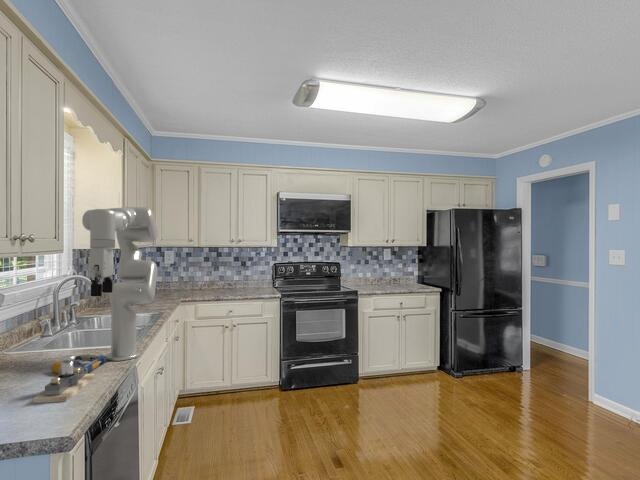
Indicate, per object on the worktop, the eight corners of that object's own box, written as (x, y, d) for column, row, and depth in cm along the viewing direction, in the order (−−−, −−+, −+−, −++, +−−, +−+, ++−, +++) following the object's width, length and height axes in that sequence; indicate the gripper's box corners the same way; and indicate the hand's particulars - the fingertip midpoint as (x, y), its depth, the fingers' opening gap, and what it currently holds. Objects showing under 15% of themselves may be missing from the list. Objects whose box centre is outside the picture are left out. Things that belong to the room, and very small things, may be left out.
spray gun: (39, 379, 131) (84, 379, 132) (39, 367, 131) (84, 367, 132) (72, 362, 152) (111, 362, 153) (72, 352, 152) (111, 351, 153)
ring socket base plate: (65, 379, 131) (66, 362, 131) (93, 377, 133) (94, 360, 133) (33, 403, 111) (33, 382, 111) (66, 401, 113) (67, 381, 113)
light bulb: (63, 382, 124) (63, 355, 124) (77, 381, 125) (77, 354, 125) (56, 386, 120) (57, 358, 120) (71, 386, 121) (71, 358, 121)
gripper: (100, 244, 137) (100, 291, 137) (79, 244, 120) (78, 298, 120) (122, 244, 138) (122, 291, 138) (104, 245, 121) (104, 297, 121)
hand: (101, 294), depth 129 cm, fingers open, 9 cm apart
